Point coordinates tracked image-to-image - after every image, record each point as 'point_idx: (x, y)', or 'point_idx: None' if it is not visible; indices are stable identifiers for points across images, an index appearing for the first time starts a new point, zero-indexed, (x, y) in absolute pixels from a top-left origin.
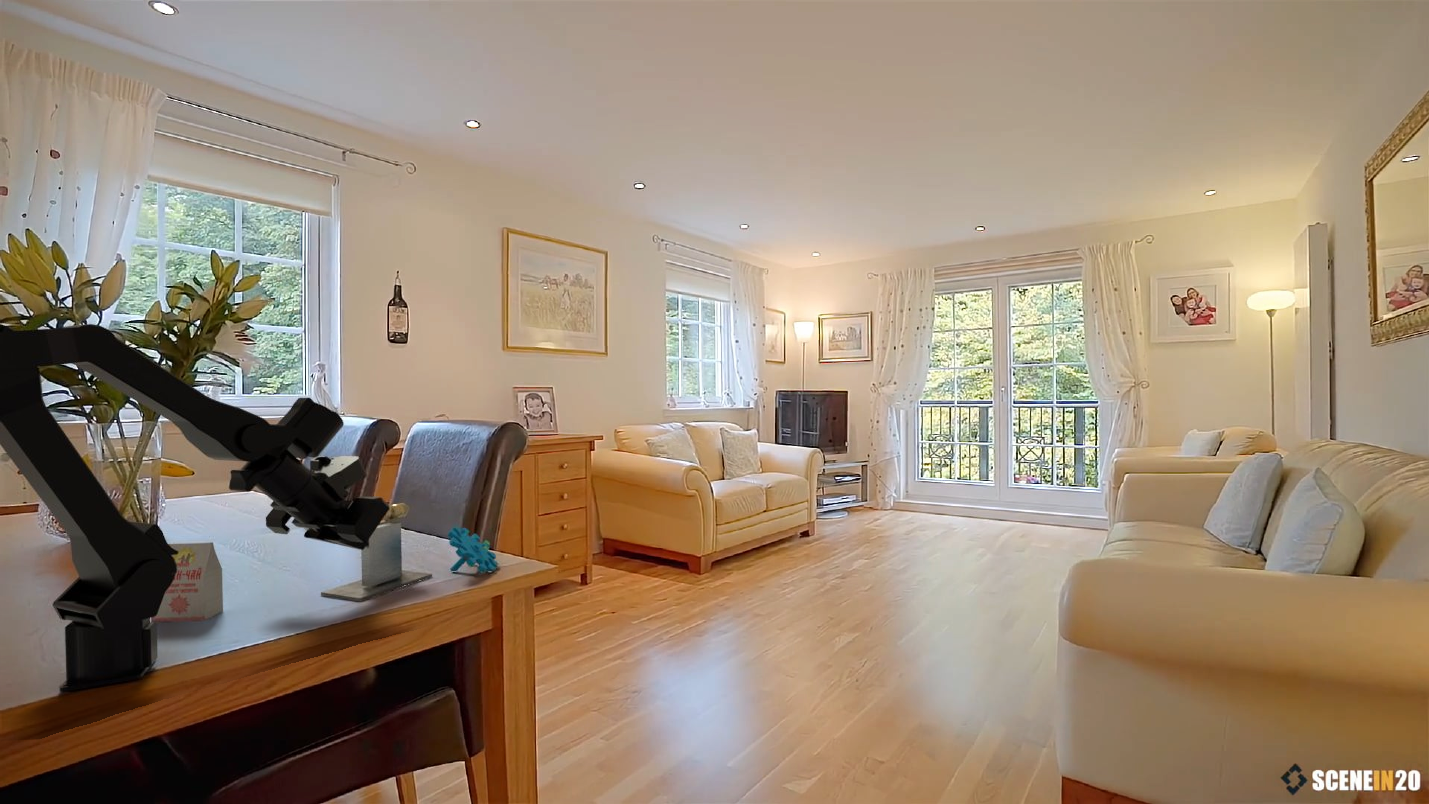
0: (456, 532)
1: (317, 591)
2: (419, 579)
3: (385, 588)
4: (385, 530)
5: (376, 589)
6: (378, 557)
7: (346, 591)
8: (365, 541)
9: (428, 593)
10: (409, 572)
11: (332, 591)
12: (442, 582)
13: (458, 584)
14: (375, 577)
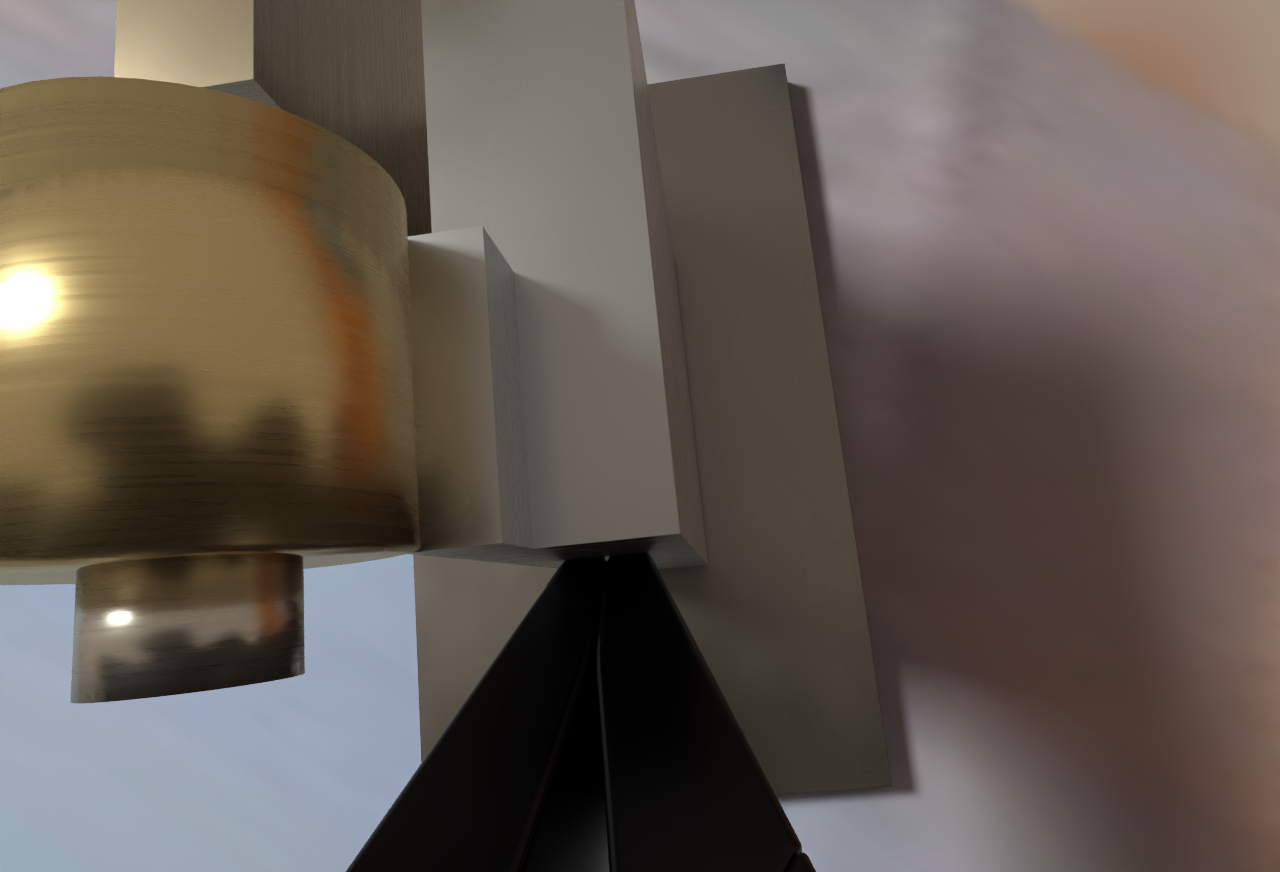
0: None
1: (296, 740)
2: (801, 188)
3: (823, 500)
4: (646, 171)
5: (777, 551)
6: (686, 426)
7: None
8: (672, 597)
9: (1176, 366)
10: None
11: None
12: (991, 128)
13: (1161, 102)
14: (699, 498)
